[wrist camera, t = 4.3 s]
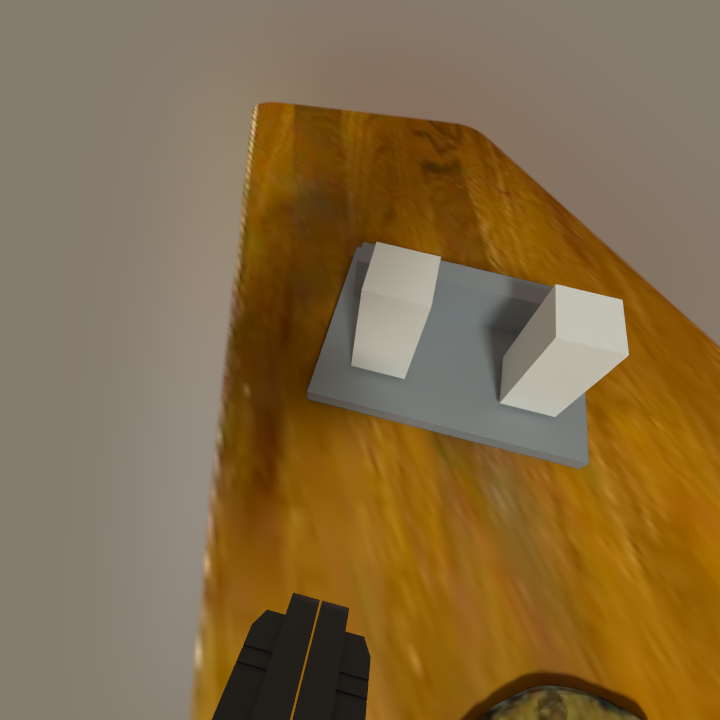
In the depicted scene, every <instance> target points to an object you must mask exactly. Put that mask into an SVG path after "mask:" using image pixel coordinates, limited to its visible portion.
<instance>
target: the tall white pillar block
mask: <svg viewBox="0 0 720 720" xmlns="http://www.w3.org/2000/svg"><path fill="white" fill-rule="evenodd" d="M440 259H441V257H439V256H435V255H431V254H426V253H422V252H418V251H414V250H410V249H405V248H401V247H397V246H393V245H389V244H384V243H380V242H376V246H375V249H374V252H373V255H372V258H371V262H370V265H369V268H368V271H367V274H366V278H365V281H364V284H363V287H362V291H361V298H360V305H359V312H358V320H357V327H356V334H355V341H354V348H353V355H352V363H351V366H355V367H359V368H362V369H366V370H370V371H374V372H378V373H382V374H386V375H390V376H394V377H398V378H402V379H405V377H406V374H407V371H408V369H409V366H410V363H411V360H412V358H413V355H414V352H415V350H416V347H417V344H418V342H419V339H420V336H421V333H422V331H423V328H424V325H425V323H426V320H427V317H428V315H429V312H430V309H431V306H432V301H433V296H434V290H435V285H436V280H437V275H438V269H439V264H440Z"/></svg>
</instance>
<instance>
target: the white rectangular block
mask: <svg viewBox="0 0 720 720" xmlns="http://www.w3.org/2000/svg"><path fill="white" fill-rule="evenodd" d="M628 355H629V352H628V344H627V335H626V327H625V318H624V310H623V301H622V300H620V299H616V298H612V297H608V296H603V295H599V294H595V293H591V292H587V291H582V290H578V289H574V288H570V287H565V286H561V285H557V284H555V286H554V287H553V288H552V290H551V291H550V293H549V294H548V295H547V297H546V298H545V299H544V301H543V302H542V304H541V305H540V306H539V308H538V309H537V311H536V312H535V313H534V315H533V316H532V318H531V319H530V320H529V322H528V323H527V325H526V326H525V327H524V329H523V330H522V332H521V333H520V334H519V336H518V337H517V339H516V340H515V341H514V343H513V344H512V345H511V347H510V348H509V350H508V351H507V352H506V354H505V355H504V357H503V364H502V378H501V393H500V403H501V404H505V405H509V406H513V407H517V408H521V409H525V410H529V411H533V412H537V413H541V414H545V415H549V416H553V417H556V416H557V415H558V414H559V413H561V412H562V411H563V410H564V409H565V408H566V407H568V406H569V405H570V404H571V403H572V402H574V401H575V400H576V399H577V398H578V397H580V396H581V395H582V394H583V393H584V392H585V391H587V390H588V389H589V388H590V387H591V386H593V385H594V384H595V383H596V382H597V381H599V380H600V379H601V378H602V377H603V376H605V375H606V374H607V373H608V372H609V371H610V370H612V369H613V368H614V367H615V366H616V365H618V364H619V363H620V362H621V361H622V360H624V359H625V358H626V357H627V356H628Z"/></svg>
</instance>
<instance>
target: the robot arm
mask: <svg viewBox="0 0 720 720" xmlns="http://www.w3.org/2000/svg"><path fill="white" fill-rule="evenodd" d="M319 601H320V600H318V599H314V598H311V597H307V596H303V595H300V594H296V593H293V595H292V598H291V601H290V604H289V606H288V609H287V612H286V615H284V614H280V613H277V612H273V611H270V610H266V611H265V612H264V613H263V614H262V615H261V616H260V617H259V618H258V619H257V620H256V621H255V622H254V623H253V624H252V626H251V628H250V631H249V633H248V635H247V638H246V640H245V642H244V645H243V648H242V649H241V652H240V654H239V657H238V659H237V661H236V665H235V666H234V668H233V671H232V673H231V675H230V678H229V680H228V683H227V685H226V687H225V690H224V692H223V694H222V697H221V699H220V701H219V704H218V706H217V709H216V711H215V713H214V716H213V718H212V720H290V717H291V713H292V709H293V705H294V701H295V697H296V693H297V689H298V685H299V681H300V677H301V673H302V669H303V665H304V661H305V657H306V653H307V649H308V645H309V641H310V637H311V633H312V629H313V625H314V621H315V617H316V613H317V609H318V605H319ZM348 611H349V608H347V607H343V606H340V605H336V604H333V603H329V602H325V601H322V604H321V608H320V611H319V615H318V619H317V623H316V627H315V631H314V635H313V639H312V643H311V647H310V651H309V655H308V659H307V663H306V667H305V671H304V675H303V679H302V684H301V688H300V692H299V696H298V700H297V704H296V708H295V712H294V716H293V720H365V716H366V705H367V703H366V701H367V693H368V680H369V670H370V654H369V651H368V648H367V645H366V642H365V638H364V637H363V636H359V635H356V634H352V633H349V632H345V630H346V624H347V618H348Z"/></svg>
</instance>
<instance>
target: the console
mask: <svg viewBox="0 0 720 720" xmlns="http://www.w3.org/2000/svg"><path fill="white" fill-rule="evenodd" d="M375 246H376V245H374V244H370V243H366V242H363V244H362V247H358V246H357V248H356V251H355V254H354V257H353V260H352V263H351V266H350V268H349V271H348V274H347V277H346V280H345V283H344V286H343V289H342V292H341V295H340V298H339V300H338V303H337V306H336V309H335V312H334V315H333V318H332V321H331V324H330V327H329V329H328V332H327V335H326V338H325V341H324V344H323V347H322V350H321V353H320V356H319V358H318V361H317V364H316V367H315V370H314V373H313V376H312V379H311V382H310V385H309V388H308V390H307V399H309V400H313V401H317V402H321V403H325V404H329V405H333V406H337V407H341V408H344V409H348V410H352V411H356V412H360V413H364V414H368V415H372V416H376V417H379V418H383V419H387V420H391V421H395V422H399V423H403V424H407V425H411V426H414V427H418V428H422V429H426V430H430V431H434V432H438V433H442V434H446V435H449V436H453V437H457V438H461V439H465V440H469V441H473V442H477V443H481V444H484V445H488V446H492V447H496V448H500V449H504V450H508V451H512V452H516V453H519V454H523V455H527V456H531V457H535V458H539V459H543V460H547V461H551V462H554V463H558V464H562V465H566V466H570V467H574V468H578V469H580V468H582V467H584V466H586V465H587V464H589V459H588V439H587V419H586V399H585V392H584V393H583V394H582V395H581V396H580V397H578V398H577V399H576V400H575V401H574V402H572V403H571V404H570V405H569V406H568V407H566V408H565V409H564V410H563V411H562V412H561V413H559V414H558V415H557V416H556V417H553V416H549V415H545V414H541V413H537V412H533V411H529V410H525V409H521V408H517V407H513V406H509V405H505V404H501V403H500V393H501V378H502V364H503V357H504V355H505V354H506V352H507V351H508V350H509V348H510V347H511V345H512V344H513V343H514V341H515V340H516V339H517V337H518V336H519V334H520V333H521V332H522V330H523V329H524V327H525V326H526V325H527V323H528V322H529V320H530V319H531V318H532V316H533V315H534V313H535V312H536V311H537V309H538V308H539V306H540V305H541V304H542V302H543V301H544V299H545V298H546V297H547V295H548V294H549V293H550V291H551V290H552V288H553V287H551V286H547V285H543V284H539V283H534V282H530V281H526V280H522V279H517V278H513V277H509V276H505V275H501V274H496V273H492V272H488V271H484V270H480V269H475V268H471V267H467V266H463V265H459V264H454V263H450V262H446V261H442V260H440V264H439V269H438V275H437V280H436V285H435V290H434V296H433V301H432V306H431V309H430V312H429V315H428V317H427V320H426V323H425V325H424V328H423V331H422V333H421V336H420V339H419V342H418V344H417V347H416V350H415V352H414V355H413V358H412V360H411V363H410V366H409V369H408V371H407V374H406V377H405V379H402V378H398V377H394V376H390V375H386V374H382V373H378V372H374V371H370V370H366V369H362V368H359V367H355V366H351V363H352V355H353V348H354V341H355V334H356V327H357V320H358V312H359V305H360V298H361V291H362V287H363V284H364V281H365V278H366V274H367V271H368V268H369V265H370V262H371V258H372V255H373V252H374V249H375Z"/></svg>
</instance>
